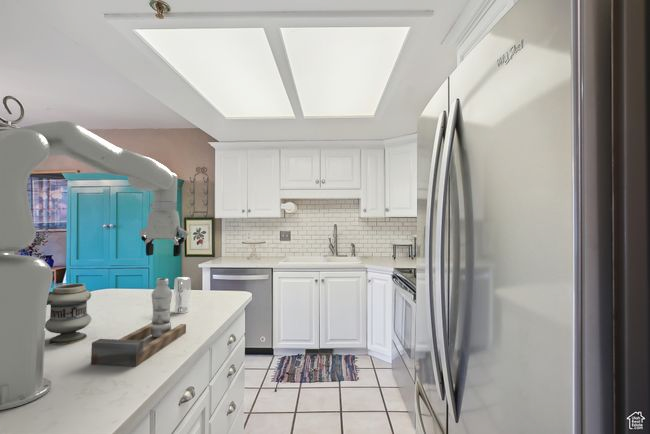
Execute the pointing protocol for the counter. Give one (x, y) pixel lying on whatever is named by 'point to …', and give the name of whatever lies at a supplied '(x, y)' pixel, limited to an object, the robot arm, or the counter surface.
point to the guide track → (131, 347)
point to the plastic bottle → (161, 308)
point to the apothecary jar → (68, 313)
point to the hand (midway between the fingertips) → (163, 255)
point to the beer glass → (182, 294)
